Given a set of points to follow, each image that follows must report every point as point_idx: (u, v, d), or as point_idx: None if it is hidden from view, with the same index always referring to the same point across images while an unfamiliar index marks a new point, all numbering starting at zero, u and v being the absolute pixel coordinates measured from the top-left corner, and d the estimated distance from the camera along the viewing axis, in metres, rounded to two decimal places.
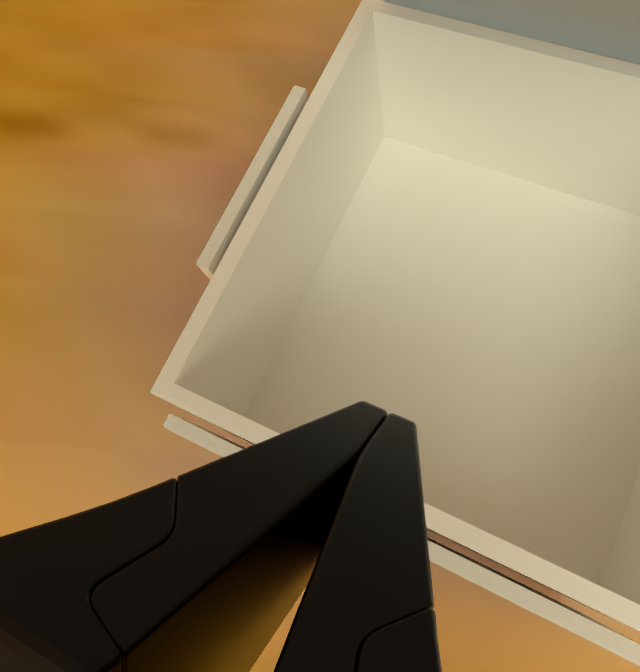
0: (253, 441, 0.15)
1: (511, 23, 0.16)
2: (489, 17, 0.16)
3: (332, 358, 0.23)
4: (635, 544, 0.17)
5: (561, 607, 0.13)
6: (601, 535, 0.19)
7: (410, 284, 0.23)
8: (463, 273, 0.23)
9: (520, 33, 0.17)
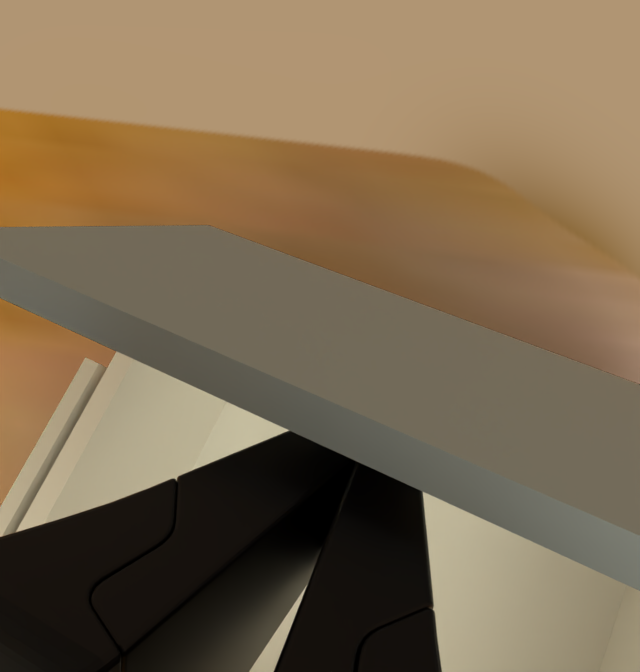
0: None
1: None
2: None
3: None
4: None
5: None
6: None
7: None
8: None
9: None
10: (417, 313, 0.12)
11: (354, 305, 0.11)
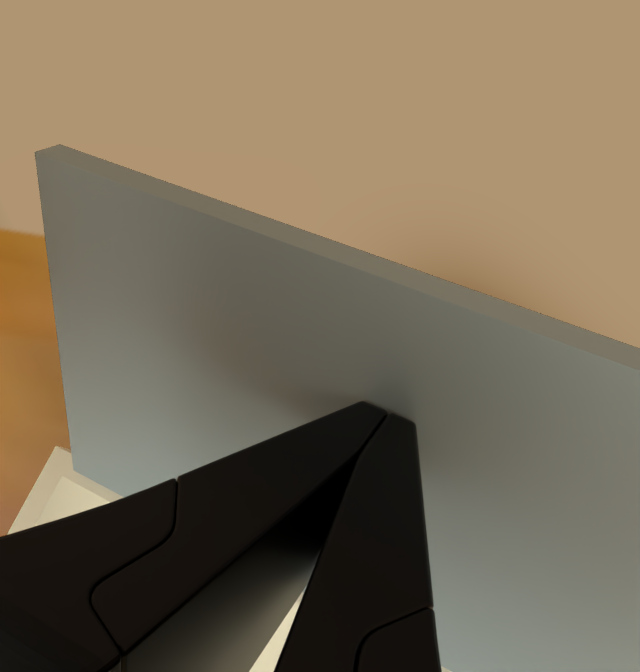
0: None
1: None
2: None
3: None
4: None
5: None
6: None
7: None
8: None
9: None
10: None
11: None
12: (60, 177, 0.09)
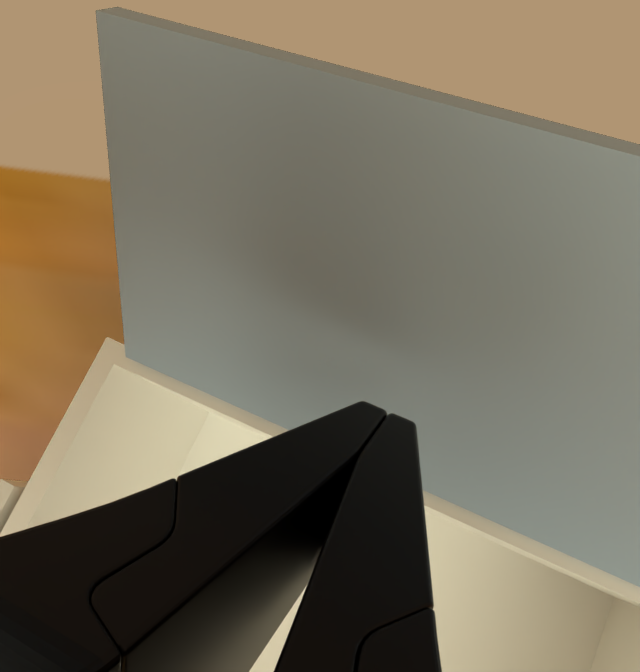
0: None
1: (299, 373, 0.12)
2: (272, 355, 0.12)
3: None
4: None
5: None
6: None
7: None
8: (292, 622, 0.18)
9: (298, 423, 0.12)
10: None
11: None
12: (121, 35, 0.09)
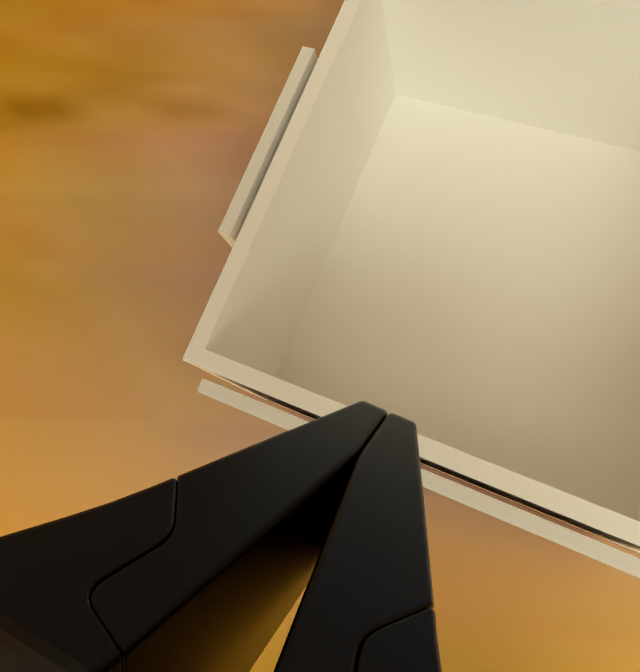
0: (285, 400, 0.16)
1: None
2: None
3: (356, 319, 0.23)
4: None
5: (595, 541, 0.14)
6: (633, 476, 0.20)
7: (430, 241, 0.23)
8: (482, 226, 0.23)
9: None
10: None
11: None
12: None
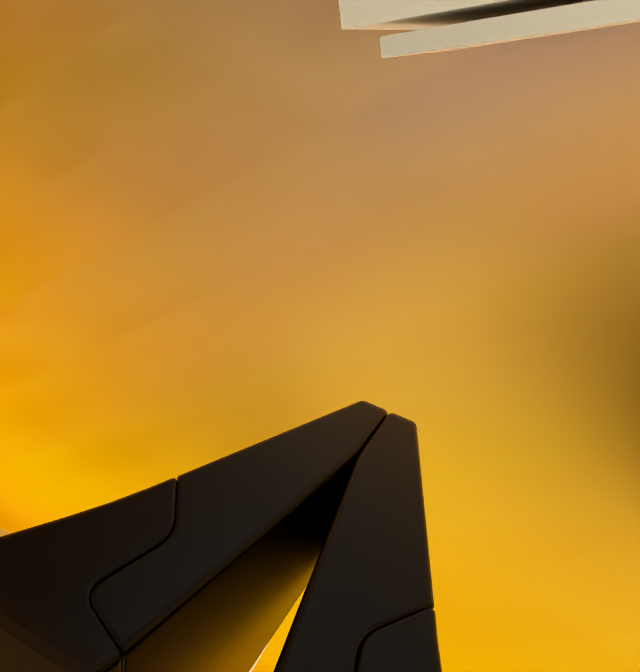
0: None
1: None
2: None
3: None
4: None
5: None
6: None
7: None
8: None
9: None
10: None
11: None
12: None
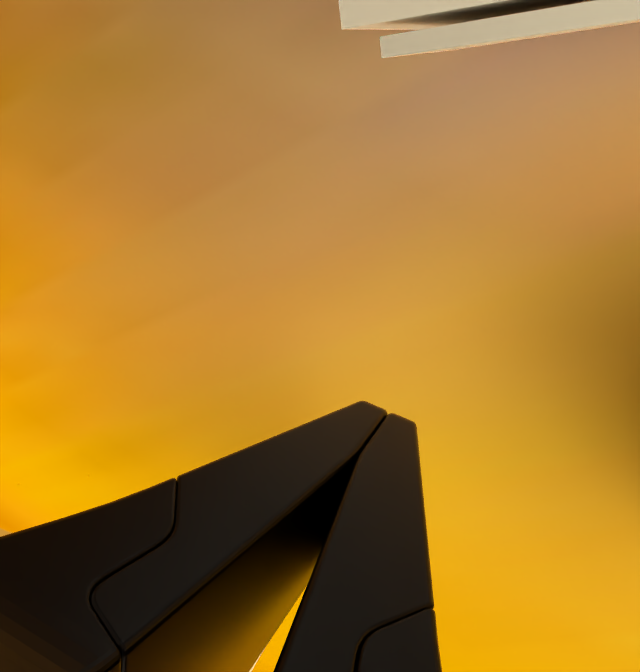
0: None
1: None
2: None
3: None
4: None
5: None
6: None
7: None
8: None
9: None
10: None
11: None
12: None
